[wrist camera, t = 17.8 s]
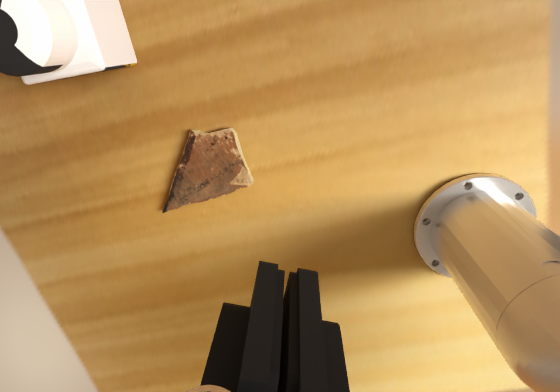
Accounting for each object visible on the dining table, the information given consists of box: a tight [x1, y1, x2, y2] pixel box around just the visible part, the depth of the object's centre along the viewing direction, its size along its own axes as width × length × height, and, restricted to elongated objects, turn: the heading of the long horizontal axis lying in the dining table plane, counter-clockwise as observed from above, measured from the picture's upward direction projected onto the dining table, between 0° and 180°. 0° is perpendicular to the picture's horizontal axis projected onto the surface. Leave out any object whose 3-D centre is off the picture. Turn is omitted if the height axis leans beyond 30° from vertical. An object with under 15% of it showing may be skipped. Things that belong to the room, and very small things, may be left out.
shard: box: [163, 128, 254, 213], centre depth 40 cm, size 11×8×2 cm
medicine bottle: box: [0, 0, 137, 85], centre depth 30 cm, size 7×7×12 cm
